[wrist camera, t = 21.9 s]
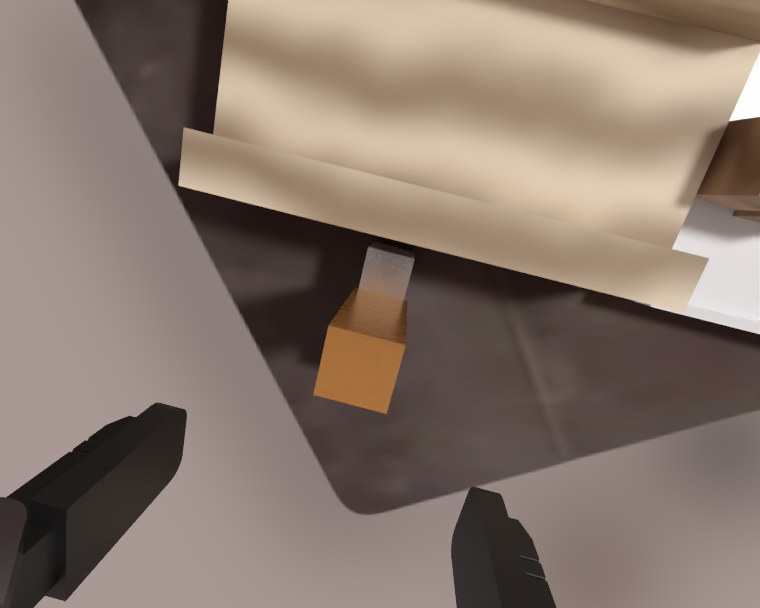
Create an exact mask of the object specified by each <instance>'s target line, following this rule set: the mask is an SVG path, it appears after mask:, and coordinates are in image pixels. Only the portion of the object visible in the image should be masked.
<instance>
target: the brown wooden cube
mask: <svg viewBox="0 0 760 608" xmlns="http://www.w3.org/2000/svg"><path fill="white" fill-rule="evenodd" d="M695 198H698V199H701V200H704V201H708V202H711V203H714V204H717V205H720V206H723V207H726V208H729V209H732V210H747V211H760V117H755V118H748V119H741V120H734V121H729V122H728V124H727V127H726V129H725V131H724V133H723V136H722V138H721V140H720V142H719V145H718V147H717V149H716V151H715V154H714V156H713V158H712V160H711V162H710V165H709V167H708V169H707V171H706V174H705V176H704V178H703V180H702V183H701V185H700V187H699V189H698V192H697V194H696V196H695Z"/></svg>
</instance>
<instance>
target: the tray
mask: <svg viewBox="0 0 760 608" xmlns="http://www.w3.org/2000/svg"><path fill="white" fill-rule="evenodd" d="M755 117H760V53H759V55H758V57H757V60H756V62H755V64H754V66H753V69H752V71H751V73H750V75H749V77H748V80H747V82H746V84H745V86H744V89H743V91H742V93H741V95H740V98H739V100H738V102H737V104H736V107H735V109H734V111H733V113H732V115H731V118H730V120H729V121H734V120H741V119H748V118H755ZM734 211H735V210H732V209H729V208H726V207H723V206H720V205H717V204H714V203H711V202H708V201H704V200H701V199H698V198H694V200H693V203H692V205H691V207H690V209H689V212H688V214H687V216H686V218H685V221H684V223H683V225H682V227H681V230H680V232H679V234H678V236H677V238H676V241H675V243H674V245H673V247H672V249H674V250H678V251H682V252H686V253H690V254H694V255H698V256H702V257H706V258H709V260H708V263H707V265H706V267H705V269H704V271H703V273H702V275H701V277H700V279H699V281H698V284H697V286H696V288H695V290H694V292H693V294H692V296H691V298H690V300H689V302H688V304H687V307H686V309H685V311H684V313H682V312H678V311H674V310H670V309H666V308H662V307H658V306H654V305H650V304H646V303H642V302H638V301H634V300H632V301H634V302H637V303H641V304H645V305H647V306H650V307H654V308H658V309H661V310H665V311H669V312H673V313H677V314H681V315H685V316H689V317H693V318H697V319H701V320H705V321H709V322H713V323H717V324H721V325H725V326H729V327H733V328H737V329H741V330H745V331H749V332H753V333H757V334H760V223H759V222H755V221H751V220H747V219H743V218H739V217H735V216H732V215H733V213H734Z"/></svg>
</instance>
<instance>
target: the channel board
mask: <svg viewBox="0 0 760 608" xmlns="http://www.w3.org/2000/svg"><path fill="white" fill-rule="evenodd" d="M759 53H760V0H228V8H227V17H226V26H225V35H224V44H223V52H222V61H221V70H220V79H219V88H218V96H217V105H216V114H215V123H214V132H213V134H208V133H204V132H200V131H196V130H192V129H188V128H184V131H183V142H182V153H181V164H180V174H179V185H178V186H182V187H185V188H189V189H193V190H197V191H201V192H205V193H209V194H213V195H217V196H221V197H225V198H229V199H233V200H237V201H241V202H245V203H249V204H253V205H257V206H261V207H265V208H269V209H273V210H277V211H281V212H285V213H289V214H293V215H297V216H301V217H305V218H309V219H313V220H317V221H320V222H324V223H328V224H332V225H336V226H340V227H344V228H348V229H352V230H356V231H360V232H364V233H368V234H372V235H376V236H380V237H384V238H388V239H392V240H396V241H400V242H404V243H408V244H412V245H416V246H420V247H424V248H428V249H432V250H436V251H440V252H444V253H448V254H451V255H455V256H459V257H463V258H467V259H471V260H475V261H479V262H483V263H487V264H491V265H495V266H499V267H503V268H507V269H511V270H515V271H519V272H523V273H527V274H531V275H535V276H539V277H543V278H547V279H551V280H555V281H559V282H563V283H567V284H571V285H575V286H579V287H582V288H586V289H590V290H594V291H598V292H602V293H606V294H610V295H614V296H618V297H622V298H626V299H630V300H634V301H638V302H642V303H646V304H650V305H654V306H658V307H662V308H666V309H670V310H674V311H678V312H682V313H684V311H685V309H686V307H687V304H688V302H689V300H690V298H691V296H692V294H693V292H694V290H695V288H696V286H697V284H698V281H699V279H700V277H701V275H702V273H703V271H704V269H705V267H706V265H707V263H708V260H709V258H706V257H702V256H698V255H694V254H690V253H686V252H682V251H678V250H674V249H672V247H673V245H674V243H675V241H676V238H677V236H678V234H679V232H680V230H681V227H682V225H683V223H684V221H685V218H686V216H687V214H688V212H689V209H690V207H691V205H692V203H693V200H694V198H695V196H696V194H697V192H698V189H699V187H700V185H701V183H702V180H703V178H704V176H705V174H706V171H707V169H708V167H709V165H710V162H711V160H712V158H713V156H714V154H715V151H716V149H717V147H718V145H719V142H720V140H721V138H722V136H723V133H724V131H725V129H726V127H727V124H728V122H729V120H730V118H731V115H732V113H733V111H734V109H735V107H736V104H737V102H738V100H739V98H740V95H741V93H742V91H743V89H744V86H745V84H746V82H747V80H748V77H749V75H750V73H751V71H752V69H753V66H754V64H755V62H756V60H757V57H758V55H759Z"/></svg>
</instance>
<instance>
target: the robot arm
mask: <svg viewBox="0 0 760 608" xmlns="http://www.w3.org/2000/svg"><path fill="white" fill-rule="evenodd" d="M186 419H187V413H186V410H184V409H181V408H177V407H173V406H169V405H166V404H162V403H155V404H153V405H151V406H150V407H149V408H148V409H146V410H145V411H144V412H142V413H141V414H140V415H139V416H137V417H132V416H128V417H125V418H123V419H120V420H118V421H115V422H113V423H110V424H108V425H106V426H104V427H103V428H102V429H100V430H99V431H97V432H96V433H95V434H93V435H92V436H91V437H90V438H89V439H88V441H84V442H82V443H81V444H80V445H78V446H77V447H75V448H74V449H73V451H72V452H69V453H67V454H66V455H64V456H63V457H61V458H60V459H59V460H57V461H56V462H55V463H53V464H52V465H51V466H49V467H48V468H46V469H45V470H44V471H42V472H41V473H39V474H38V475H37V476H35V477H34V478H33V479H31V480H30V481H28V482H27V483H26V484H24V485H23V486H21V487H20V488H19V489H17V490H16V491H14V492H13V493H12V494H10V495H9V496H7V497H6V498H4V497H0V608H34V607H35V605H36V604H37V603H38V602H39V601H40V600H41V599H42V598H43V597H44V596H48V597H52V598H56V599H59V600H63V601H66V600H67V599H68V598H69V596H70V595H71V594H72V593H73V592H74V591H75V590H76V588H77V587H78V586H79V585H80V584H81V583H82V582H83V580H84V579H85V578H86V577H87V576H88V575H89V574H90V573H91V571H92V570H93V569H94V568H95V567H96V566H97V565H98V563H99V562H100V561H101V560H102V559H103V558H104V556H105V555H106V554H107V553H108V552H109V551H110V550H111V548H112V547H113V546H114V545H115V544H116V543H117V542H118V540H119V539H120V538H121V537H122V536H123V535H124V534H125V532H126V531H127V530H128V529H129V528H130V527H131V526H132V524H133V523H134V522H135V521H136V520H137V519H138V518H139V516H140V515H141V514H142V513H143V512H144V511H145V510H146V508H147V507H148V506H149V505H150V504H151V503H152V502H153V500H154V499H155V498H156V497H157V496H158V495H159V494H160V492H161V491H162V490H163V489H164V488H165V487H166V486H167V484H168V483H169V482H170V481H171V480H172V478H173V477H174V475H175V474H176V472H177V470H178V468H179V465H180V463H181V459H182V455H183V446H184V437H185V428H186ZM451 558H452V567H453V576H454V585H455V595H456V604H457V608H556V605H555V602H554V600H553V597H552V594H551V591H550V588H549V585H548V583H547V581H545V574H544V571H543V569H542V566H541V564H540V563H539V557H538V554H537V552H536V549H535V546H534V543H533V540H532V538H531V537H530V536H529V534H528V533H527V532H526V530H525V529H524V527H523V526H522V525H521V523H520V522H519V521H518V520H516V519H512V518H509V517H508V514H507V511H506V507H505V504H504V501H503V498H502V496H501V495H500V494H499V493H495V492H491V491H487V490H483V489H480V488H476V487H471V488H470V490H469V492H468V494H467V497H466V500H465V503H464V505H463V508H462V511H461V513H460V516H459V519H458V521H457V524H456V527H455V530H454V533H453V538H452V546H451Z"/></svg>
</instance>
